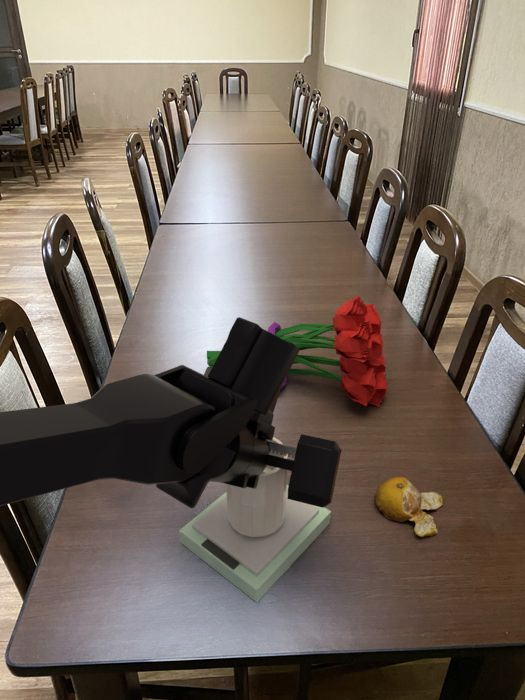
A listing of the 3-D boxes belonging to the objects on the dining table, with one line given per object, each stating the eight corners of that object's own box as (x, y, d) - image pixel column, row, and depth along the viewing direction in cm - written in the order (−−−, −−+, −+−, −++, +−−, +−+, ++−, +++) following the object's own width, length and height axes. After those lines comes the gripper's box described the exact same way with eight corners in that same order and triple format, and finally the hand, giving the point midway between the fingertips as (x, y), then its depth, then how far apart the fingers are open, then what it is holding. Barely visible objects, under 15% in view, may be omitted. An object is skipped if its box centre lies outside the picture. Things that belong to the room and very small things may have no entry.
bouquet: (228, 383, 103) (387, 369, 96) (206, 439, 89) (391, 428, 82) (201, 290, 94) (375, 267, 86) (172, 337, 80) (377, 314, 73)
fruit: (434, 544, 64) (440, 523, 62) (366, 522, 67) (369, 501, 65) (443, 496, 71) (449, 476, 69) (381, 478, 73) (384, 458, 71)
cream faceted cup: (259, 551, 60) (259, 486, 55) (215, 519, 64) (212, 455, 58) (296, 514, 64) (299, 451, 59) (253, 487, 68) (253, 425, 63)
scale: (256, 602, 57) (256, 586, 56) (180, 542, 64) (178, 526, 63) (330, 523, 67) (331, 507, 65) (256, 478, 73) (256, 462, 72)
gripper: (347, 377, 45) (356, 406, 60) (149, 341, 50) (202, 376, 65) (320, 511, 43) (336, 507, 58) (116, 459, 48) (179, 468, 63)
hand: (260, 459), depth 61 cm, fingers open, 9 cm apart
